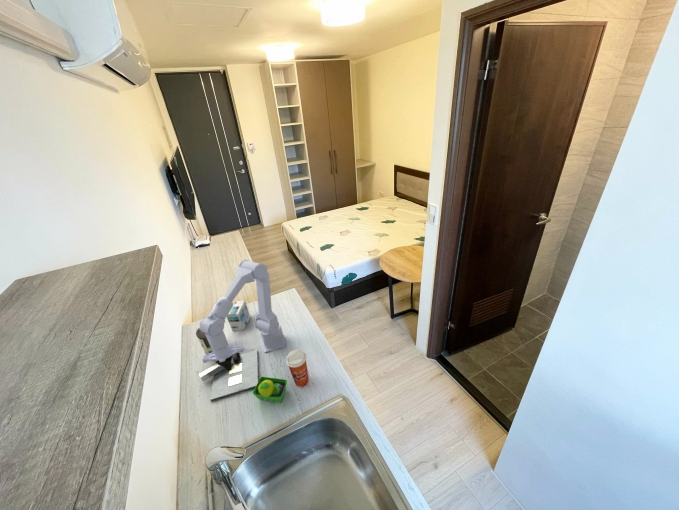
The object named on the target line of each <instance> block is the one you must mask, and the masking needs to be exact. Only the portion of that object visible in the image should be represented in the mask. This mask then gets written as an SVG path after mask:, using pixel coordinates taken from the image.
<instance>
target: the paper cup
mask: <svg viewBox="0 0 679 510" xmlns="http://www.w3.org/2000/svg"><path fill="white" fill-rule="evenodd" d="M285 363H286V365H287V366H288V368H289V371H290V375H291V376H292V377H291V378H292V380H293V382H294V384H295V386H297V387H298V388H300V387H301V388H302V387H305V386H306V385H308V383H309V371H308V365H307V354H306V352H305V351H303V350H302V349H299V348H298V349H294V350H291V351H290V352H288V354H287V356H286V359H285Z"/></svg>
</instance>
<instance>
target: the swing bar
mask: <svg viewBox="0 0 679 510" xmlns="http://www.w3.org/2000/svg"><path fill="white" fill-rule="evenodd" d="M232 358H233V360H234V362H237V361H238V360H239V359H238V356H237V354H234V355H232ZM233 360H231V364H234V363H233ZM224 369H225V368H224V367H223V366H221V365H218V364H216V365H215V364H214V365H212V366H211V367H208V368H207V369H205V370H204V371H201V372H200V373H198V375H199V377H200V380H201V381H202V382H203V383H204V382H205V381H207V380H208V379H210V378H213V377H214V375H215V374H217V373H219V372H220V371H222V370H224Z"/></svg>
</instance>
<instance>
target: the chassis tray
mask: <svg viewBox="0 0 679 510" xmlns="http://www.w3.org/2000/svg"><path fill="white" fill-rule="evenodd" d="M240 353H241V352H239V353H236V354H237V356H238V359H239V360H238V361H237V362H234V360H233V358H232V360H233V363H234V364H232V370H231V371H228V370H227V369H224V370H222V371H220V372H219V373H217V374H215V375H214V376H212V386H211V391H210V393H211V394H210V398H209V400H210V402H215V401H218V400H221V399H224V398H228V397H230V396H235V395H238V394H241V393H244V392H248V391H251V390H254V389H255V387H256V385H257V383H258V381H259V350H258V349H255V350H252V351H251V350H250V351H248V352H243V353H241V354H240ZM216 364H217V360H215V364H214V365H216Z"/></svg>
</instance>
